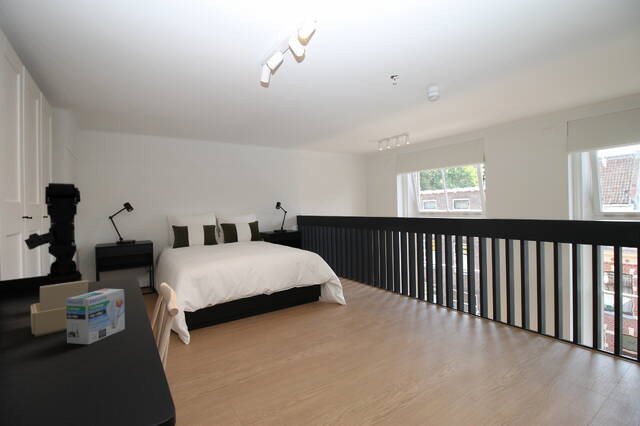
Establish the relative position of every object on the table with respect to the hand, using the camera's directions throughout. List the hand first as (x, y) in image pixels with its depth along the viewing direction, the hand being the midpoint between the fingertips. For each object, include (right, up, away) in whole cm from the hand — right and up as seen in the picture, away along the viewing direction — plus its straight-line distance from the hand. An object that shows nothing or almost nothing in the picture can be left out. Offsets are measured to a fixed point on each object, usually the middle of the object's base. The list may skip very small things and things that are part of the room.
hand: (63, 274), depth 94 cm
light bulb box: (+23, -12, -17) cm, 31 cm away
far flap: (+12, -3, -14) cm, 19 cm away
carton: (+6, -13, -8) cm, 16 cm away
